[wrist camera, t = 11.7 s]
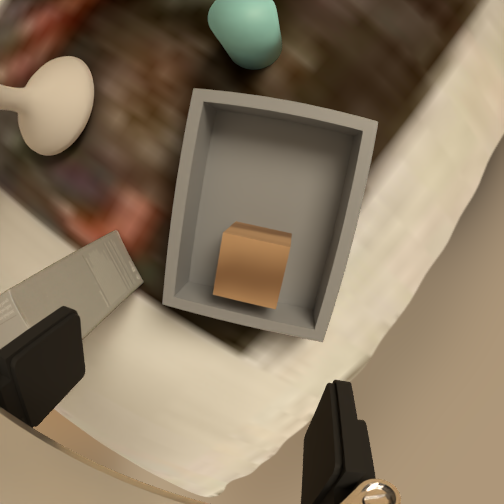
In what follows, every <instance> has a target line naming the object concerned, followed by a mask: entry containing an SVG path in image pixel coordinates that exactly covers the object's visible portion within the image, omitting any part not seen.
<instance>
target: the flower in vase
mask: <svg viewBox="0 0 504 504" xmlns="http://www.w3.org/2000/svg"><path fill="white" fill-rule="evenodd" d="M93 102H94V83H93V78H92V75H91V72H90V70H89V68H88V66H87V65H86V64H85V63H84V62H83V61H82V60H81V59H79V58H76V57H73V56H64V57H59V58H55V59H53V60H51V61H49V62H47V63H46V64H44V65H43V66H42V67H41V68H40V69H39V70H38V71H37V72H35V74H34V75H33V76H32V77H31V78H30V80H29V81H28V83H27V85H26V86H25V87H24V88H13V87H8V86H4V85H1V84H0V110H10V111H15V112H17V113H18V123H19V128H20V131H21V134H22V137H23V139H24V141H25V143H26V144H27V145H28V146H29V147H30V148H31V149H32V150H34V151H35V152H37V153H39V154H41V155H45V156H52V155H56V154H59V153H61V152H63V151H64V150H66V149H67V148H68V147H70V146H71V145H72V144H73V143H74V142H75V140H76V139H77V138H78V137H79V135H80V134H81V133H82V131H83V130H84V128H85V126H86V124H87V122H88V119H89V117H90V114H91V111H92V107H93Z"/></svg>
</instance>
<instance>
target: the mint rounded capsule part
mask: <svg viewBox="0 0 504 504" xmlns="http://www.w3.org/2000/svg"><path fill="white" fill-rule="evenodd" d="M208 23H209V26H210V28H211V30H212V31H213V33H214V34H215V36H216V37H217V39H218V40H219V41H220V43H221V44H222V46H223V47H224V49H225V50H226V52H227V53H228V55H229V56H230V58H231V59H232V60H233V62H234V63H236V64H237V65H239V66H240V67H242V68H246V69H252V70H254V69H262V68H265V67H267V66H269V65H271V64H272V63H274V62H275V61H276V60H277V59H278V57H279V56H280V53H281V51H282V40H281V33H280V27H279V21H278V16H277V10H276V6H275V4H274V2H273V0H216V1H215V2H214V3H213V4H212V6H211V8H210V10H209V13H208Z"/></svg>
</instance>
